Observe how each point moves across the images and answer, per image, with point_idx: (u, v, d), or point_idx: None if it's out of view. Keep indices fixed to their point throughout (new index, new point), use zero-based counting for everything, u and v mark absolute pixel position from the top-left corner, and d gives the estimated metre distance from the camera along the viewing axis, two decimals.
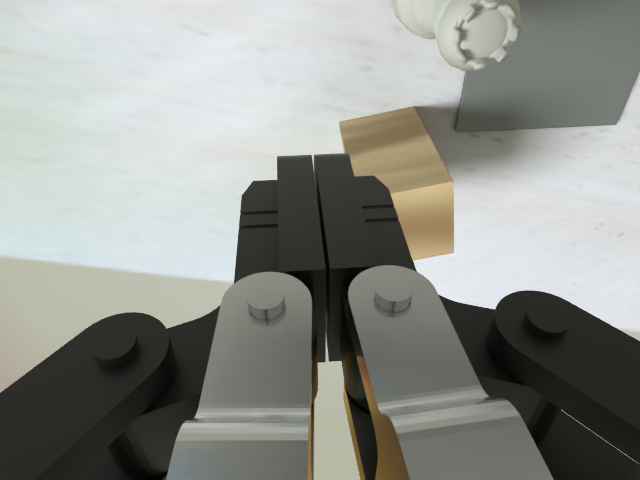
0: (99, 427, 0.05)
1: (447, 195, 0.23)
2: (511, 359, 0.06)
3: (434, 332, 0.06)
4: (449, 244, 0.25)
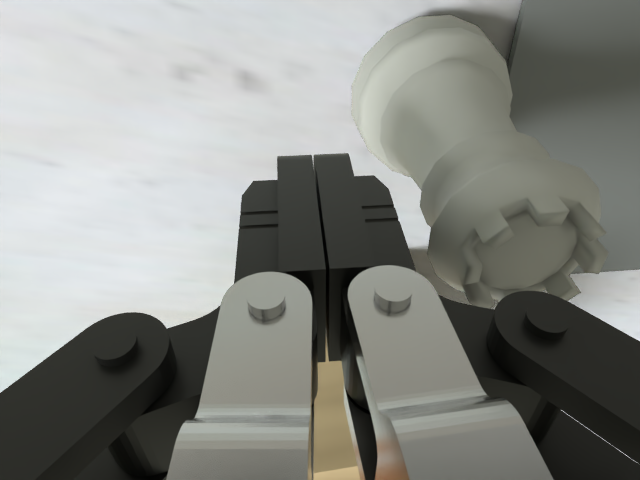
0: (100, 426, 0.05)
1: None
2: (511, 359, 0.06)
3: (433, 332, 0.06)
4: None
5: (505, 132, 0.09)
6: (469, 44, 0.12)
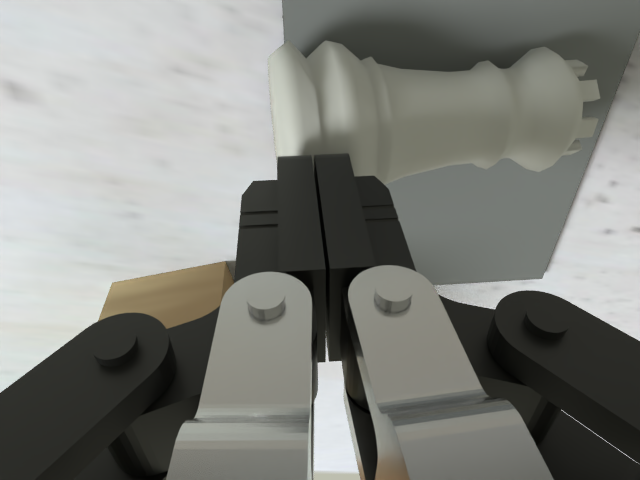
0: (100, 427, 0.05)
1: None
2: (511, 359, 0.06)
3: (434, 332, 0.06)
4: None
5: (491, 63, 0.12)
6: (345, 49, 0.12)
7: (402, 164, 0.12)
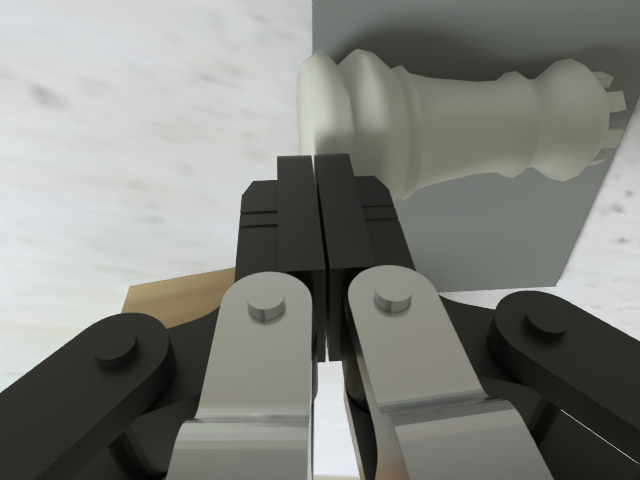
0: (100, 428, 0.05)
1: None
2: (511, 359, 0.06)
3: (433, 332, 0.06)
4: None
5: (518, 73, 0.12)
6: None
7: (431, 171, 0.12)
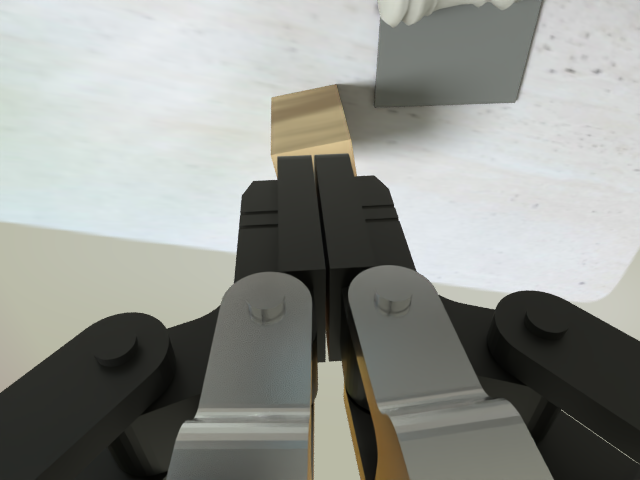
0: (100, 427, 0.05)
1: (347, 151, 0.27)
2: (511, 359, 0.06)
3: (434, 332, 0.06)
4: None
5: None
6: None
7: None
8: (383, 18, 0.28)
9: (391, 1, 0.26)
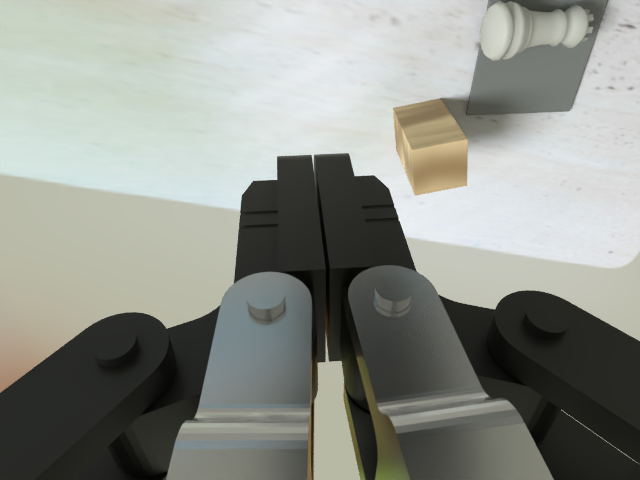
0: (100, 426, 0.05)
1: (464, 147, 0.39)
2: (511, 359, 0.06)
3: (434, 332, 0.06)
4: (464, 179, 0.41)
5: (559, 9, 0.38)
6: None
7: (532, 39, 0.38)
8: (486, 54, 0.40)
9: (497, 44, 0.38)
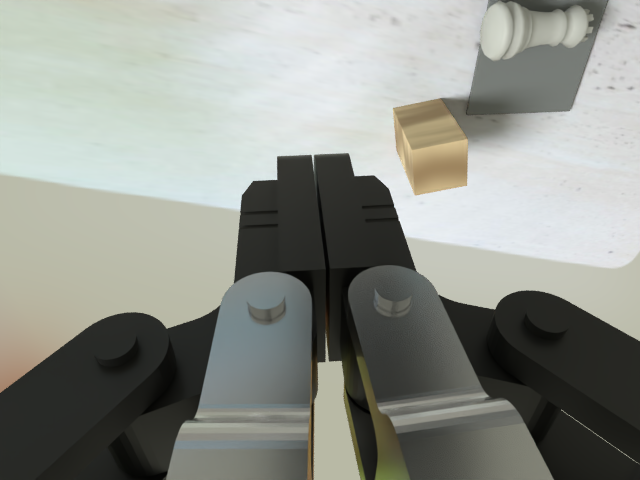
0: (100, 426, 0.05)
1: (464, 147, 0.39)
2: (511, 359, 0.06)
3: (434, 332, 0.06)
4: (464, 179, 0.41)
5: (559, 9, 0.38)
6: None
7: (532, 39, 0.38)
8: (486, 54, 0.40)
9: (497, 44, 0.38)
